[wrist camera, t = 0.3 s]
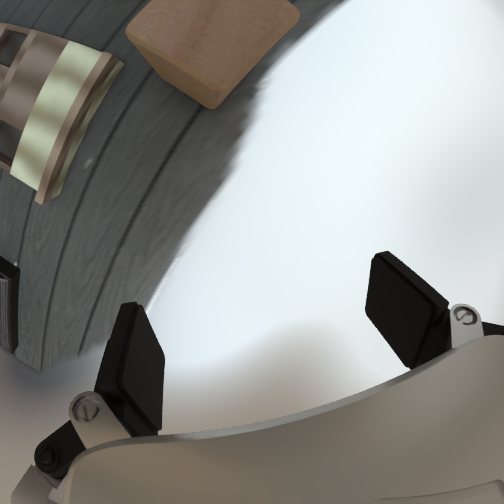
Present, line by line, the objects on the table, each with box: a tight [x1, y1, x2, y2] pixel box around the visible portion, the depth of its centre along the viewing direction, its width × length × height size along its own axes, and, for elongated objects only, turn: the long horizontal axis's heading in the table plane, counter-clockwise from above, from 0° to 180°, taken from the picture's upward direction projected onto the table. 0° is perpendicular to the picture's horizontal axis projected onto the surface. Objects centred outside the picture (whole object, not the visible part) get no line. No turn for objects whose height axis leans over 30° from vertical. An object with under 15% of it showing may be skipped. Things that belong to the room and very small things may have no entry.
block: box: [125, 0, 300, 110], centre depth 22 cm, size 10×10×20 cm
